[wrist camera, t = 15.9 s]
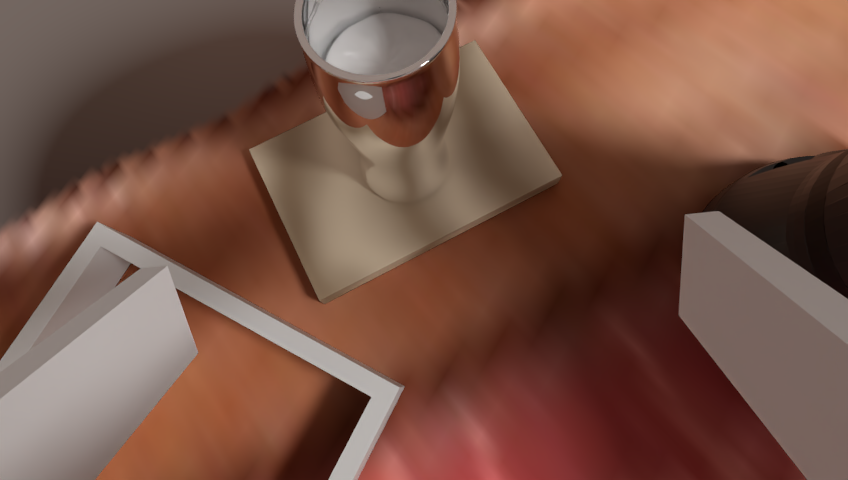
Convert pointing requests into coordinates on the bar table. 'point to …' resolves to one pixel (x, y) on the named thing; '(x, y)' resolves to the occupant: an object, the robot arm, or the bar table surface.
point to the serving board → (401, 222)
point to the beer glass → (387, 84)
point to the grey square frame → (115, 251)
